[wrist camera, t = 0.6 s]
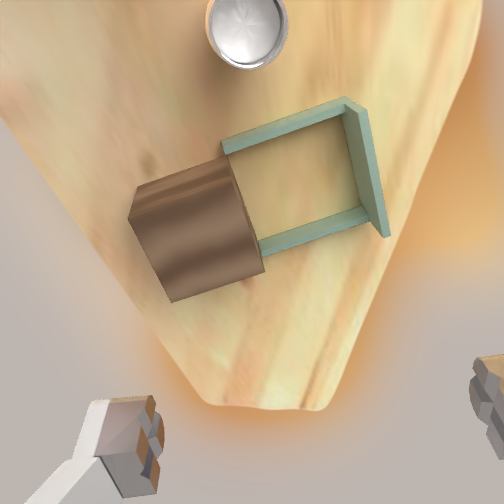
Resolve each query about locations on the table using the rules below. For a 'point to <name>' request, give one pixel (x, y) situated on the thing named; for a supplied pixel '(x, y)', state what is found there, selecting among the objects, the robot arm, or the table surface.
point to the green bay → (361, 161)
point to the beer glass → (246, 31)
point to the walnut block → (196, 230)
